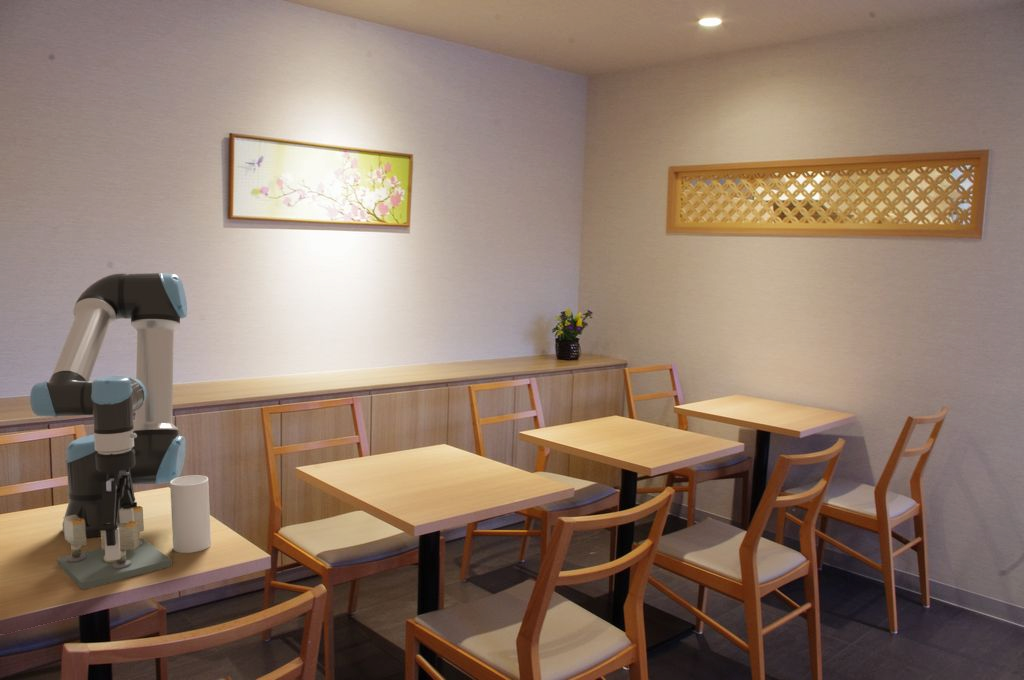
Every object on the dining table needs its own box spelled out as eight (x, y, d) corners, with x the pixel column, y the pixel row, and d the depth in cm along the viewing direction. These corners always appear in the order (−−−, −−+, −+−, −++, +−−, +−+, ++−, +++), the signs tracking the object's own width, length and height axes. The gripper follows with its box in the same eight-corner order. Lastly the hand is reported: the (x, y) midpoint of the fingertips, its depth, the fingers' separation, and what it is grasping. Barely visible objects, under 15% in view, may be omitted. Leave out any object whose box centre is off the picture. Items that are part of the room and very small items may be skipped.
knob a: (65, 552, 176) (63, 514, 175) (77, 549, 178) (75, 512, 177) (75, 561, 171) (72, 522, 170) (87, 558, 173) (84, 520, 172)
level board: (57, 564, 175) (56, 554, 175) (142, 544, 188) (141, 534, 187) (82, 590, 162) (81, 579, 162) (171, 566, 175) (171, 555, 175)
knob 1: (102, 563, 170) (100, 524, 169) (108, 559, 172) (106, 520, 171) (135, 564, 170) (132, 524, 169) (140, 559, 172) (138, 521, 171)
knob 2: (122, 539, 185) (120, 502, 184) (133, 536, 186) (131, 500, 185) (133, 547, 180) (131, 510, 179) (144, 544, 181) (142, 507, 180)
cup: (188, 555, 181) (184, 487, 179) (165, 548, 185) (162, 481, 183) (218, 544, 188) (215, 478, 186) (196, 537, 192) (193, 473, 190)
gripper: (120, 463, 157) (126, 568, 160) (146, 436, 181) (151, 527, 183) (78, 466, 156) (85, 571, 158) (110, 438, 179) (115, 530, 182)
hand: (120, 548), depth 171 cm, fingers open, 12 cm apart
